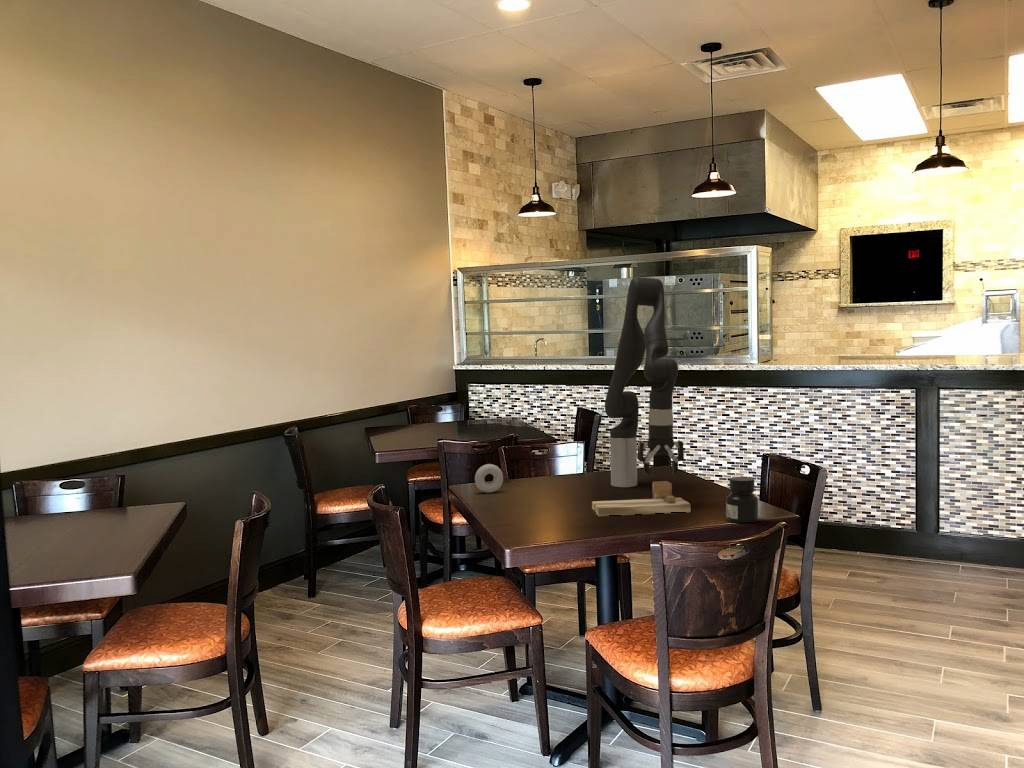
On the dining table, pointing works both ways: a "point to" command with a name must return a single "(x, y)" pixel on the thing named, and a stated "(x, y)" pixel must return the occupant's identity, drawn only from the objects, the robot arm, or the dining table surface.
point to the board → (639, 506)
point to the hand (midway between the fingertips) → (660, 474)
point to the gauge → (663, 491)
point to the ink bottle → (742, 501)
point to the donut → (481, 478)
